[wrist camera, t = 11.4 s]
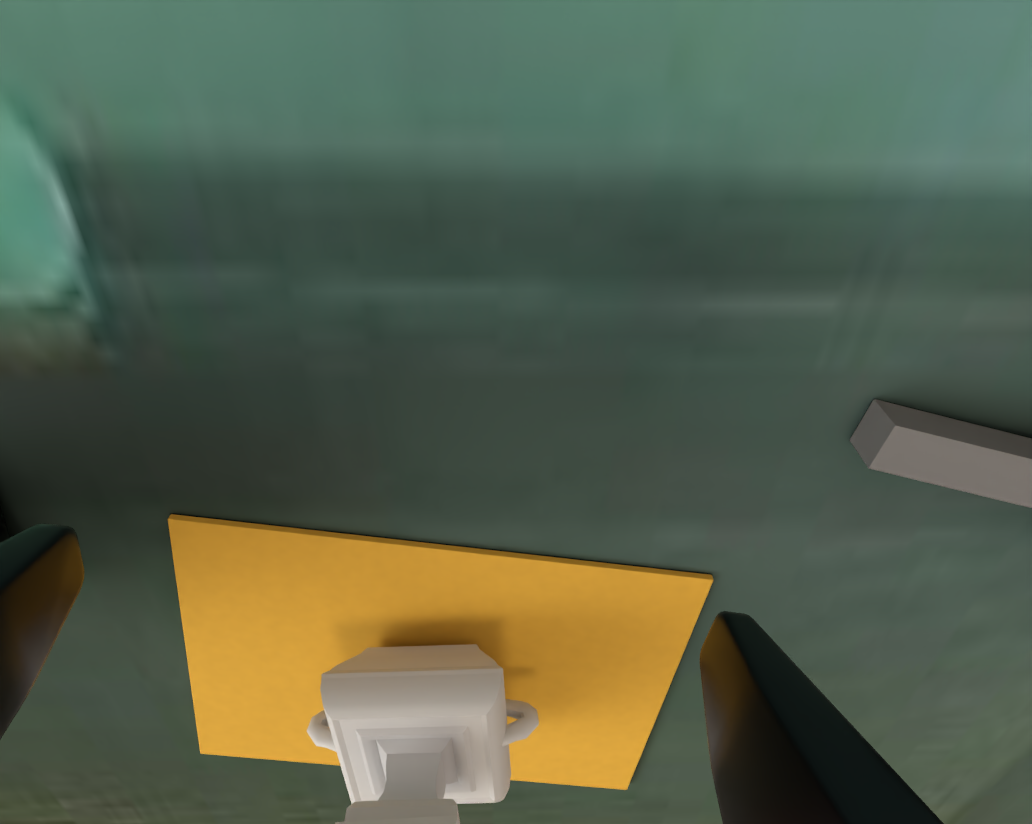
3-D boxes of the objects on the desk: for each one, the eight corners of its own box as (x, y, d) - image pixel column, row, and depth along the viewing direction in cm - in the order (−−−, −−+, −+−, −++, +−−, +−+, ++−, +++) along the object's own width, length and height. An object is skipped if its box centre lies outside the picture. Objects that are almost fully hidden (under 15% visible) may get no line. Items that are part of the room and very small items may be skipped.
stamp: (336, 727, 30) (281, 954, 23) (305, 622, 27) (229, 850, 20) (539, 720, 30) (548, 947, 23) (534, 613, 27) (541, 841, 20)
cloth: (202, 747, 32) (200, 753, 31) (170, 513, 25) (167, 519, 24) (626, 783, 33) (626, 790, 33) (712, 574, 26) (713, 580, 26)
